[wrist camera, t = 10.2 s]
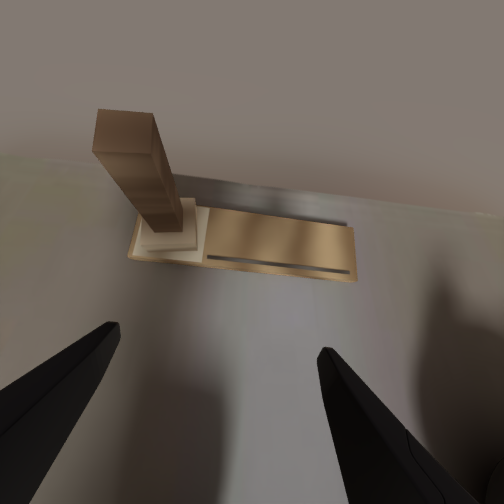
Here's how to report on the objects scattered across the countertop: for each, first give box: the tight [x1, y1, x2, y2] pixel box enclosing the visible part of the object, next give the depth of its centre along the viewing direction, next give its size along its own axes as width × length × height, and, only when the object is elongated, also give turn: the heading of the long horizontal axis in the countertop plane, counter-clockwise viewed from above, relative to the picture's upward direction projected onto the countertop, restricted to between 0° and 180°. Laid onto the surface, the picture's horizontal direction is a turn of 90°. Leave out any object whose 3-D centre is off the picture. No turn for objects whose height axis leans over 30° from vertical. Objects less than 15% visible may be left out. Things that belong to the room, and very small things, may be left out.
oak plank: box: [127, 205, 358, 282], centre depth 24 cm, size 26×7×1 cm, turn 86°
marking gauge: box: [92, 109, 198, 252], centre depth 17 cm, size 6×5×13 cm
